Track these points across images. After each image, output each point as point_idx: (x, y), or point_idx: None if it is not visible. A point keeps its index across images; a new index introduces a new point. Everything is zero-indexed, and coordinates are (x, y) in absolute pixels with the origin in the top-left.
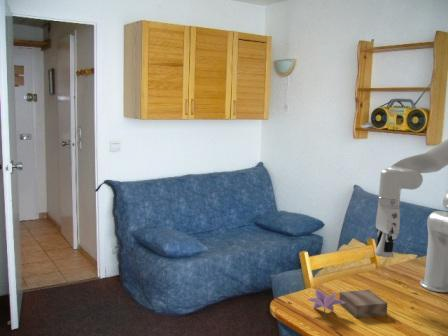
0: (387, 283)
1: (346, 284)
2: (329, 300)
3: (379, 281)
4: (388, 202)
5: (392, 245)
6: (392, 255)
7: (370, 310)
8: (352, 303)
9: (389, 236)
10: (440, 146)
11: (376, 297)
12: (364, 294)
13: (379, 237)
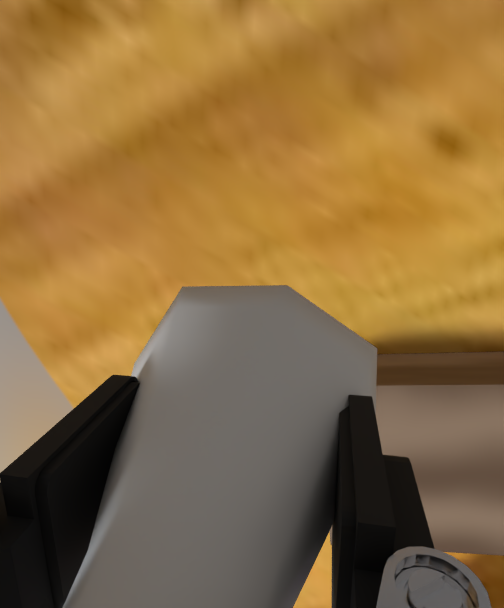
0: (88, 108)
1: (108, 356)
2: None
3: (60, 146)
4: None
5: (383, 473)
6: (370, 363)
7: None
8: (471, 548)
9: (179, 596)
10: None
11: (442, 403)
12: (386, 445)
13: (47, 605)
